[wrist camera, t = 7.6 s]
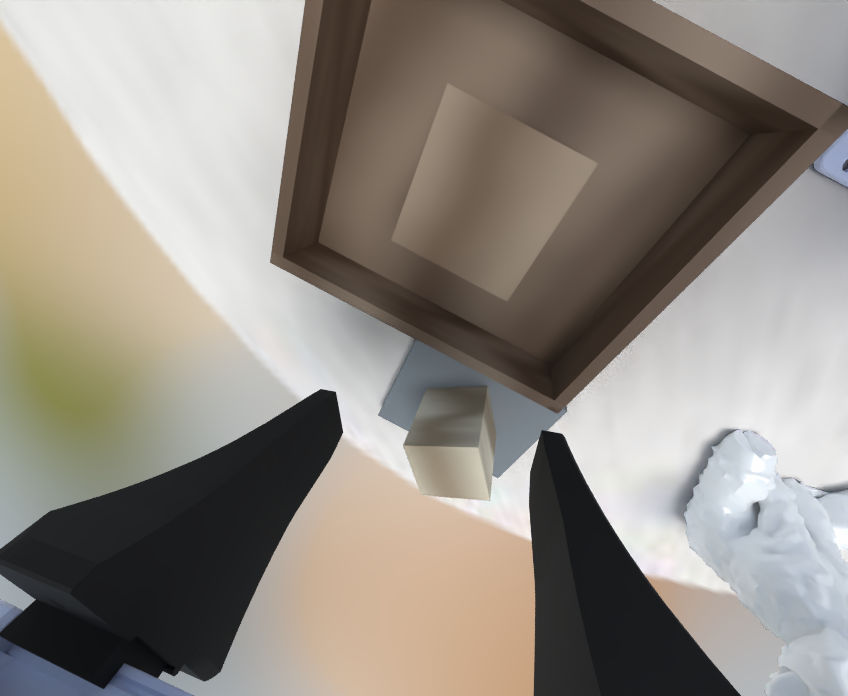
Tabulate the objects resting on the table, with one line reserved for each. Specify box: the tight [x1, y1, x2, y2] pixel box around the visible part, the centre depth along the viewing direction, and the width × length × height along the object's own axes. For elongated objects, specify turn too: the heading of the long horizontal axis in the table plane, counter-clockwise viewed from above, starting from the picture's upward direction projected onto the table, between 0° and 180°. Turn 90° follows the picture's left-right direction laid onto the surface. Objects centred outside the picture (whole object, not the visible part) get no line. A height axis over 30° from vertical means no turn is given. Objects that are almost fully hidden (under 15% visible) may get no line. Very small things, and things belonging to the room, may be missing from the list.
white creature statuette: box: [684, 429, 848, 696], centre depth 15 cm, size 10×9×12 cm
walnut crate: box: [270, 0, 848, 414], centre depth 14 cm, size 16×13×4 cm
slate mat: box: [378, 340, 567, 478], centre depth 22 cm, size 10×8×1 cm
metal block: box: [403, 386, 496, 501], centre depth 19 cm, size 4×4×5 cm
